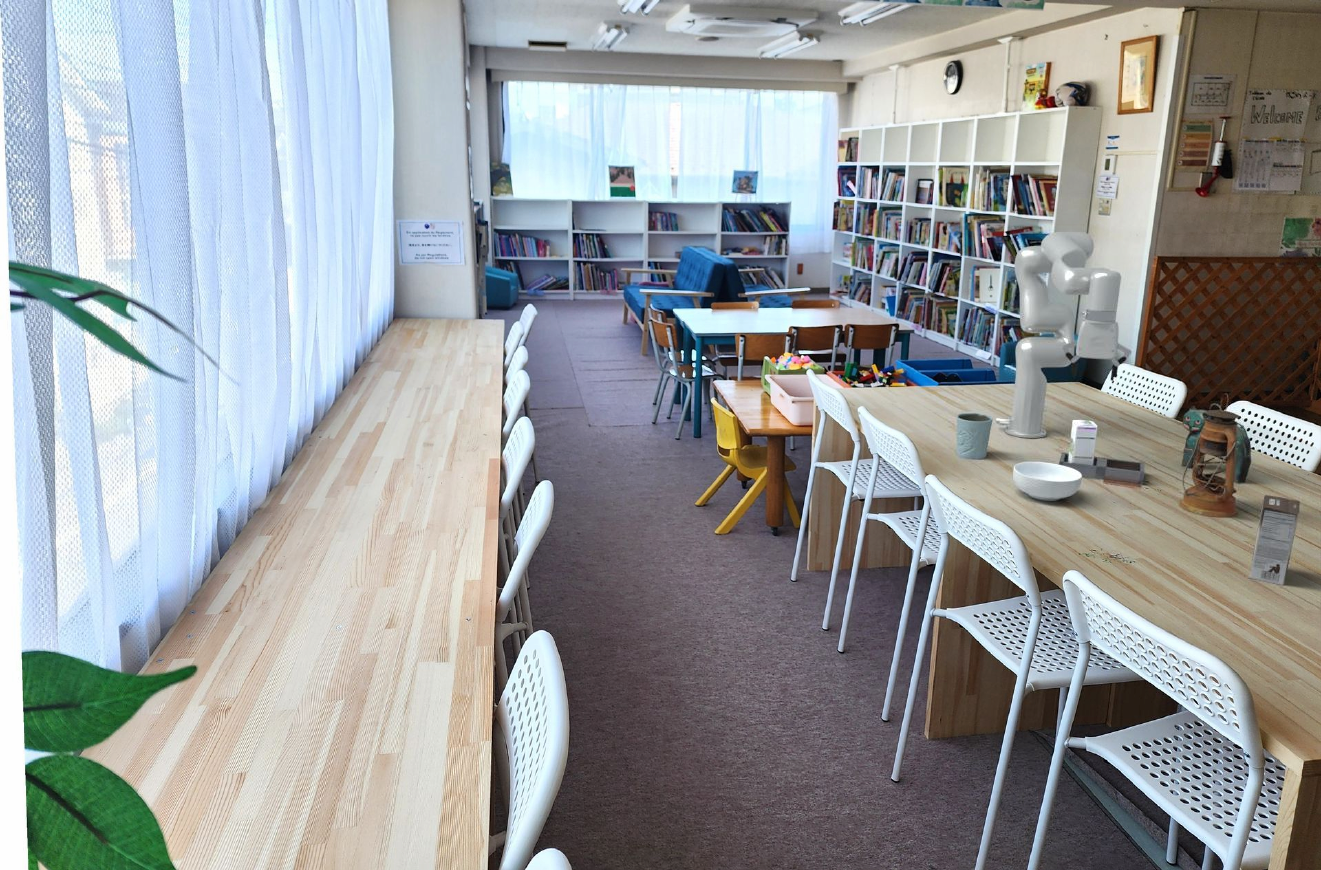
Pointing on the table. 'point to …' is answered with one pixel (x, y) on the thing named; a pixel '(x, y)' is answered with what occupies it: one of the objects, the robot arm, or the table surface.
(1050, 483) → the cereal bowl
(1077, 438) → the syrup box
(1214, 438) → the lantern
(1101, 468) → the holder
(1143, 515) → the table surface
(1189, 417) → the ceramic cat
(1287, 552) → the coffee box
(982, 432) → the embossed ceramic cup
